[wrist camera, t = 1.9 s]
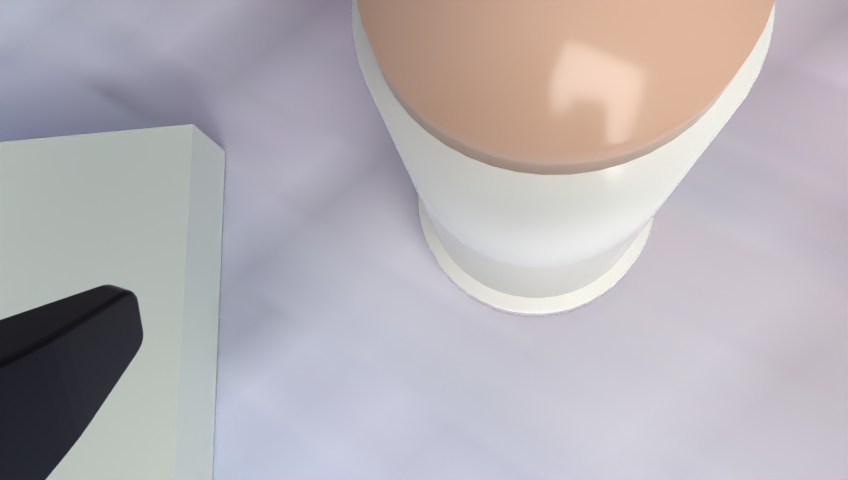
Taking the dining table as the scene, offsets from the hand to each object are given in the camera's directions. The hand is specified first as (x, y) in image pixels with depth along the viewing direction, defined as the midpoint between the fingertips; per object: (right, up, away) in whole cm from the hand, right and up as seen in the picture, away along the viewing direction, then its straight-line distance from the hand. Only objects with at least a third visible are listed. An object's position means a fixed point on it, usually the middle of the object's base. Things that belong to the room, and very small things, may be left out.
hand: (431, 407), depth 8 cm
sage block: (-12, -1, +14) cm, 19 cm away
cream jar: (+4, +3, +13) cm, 14 cm away
